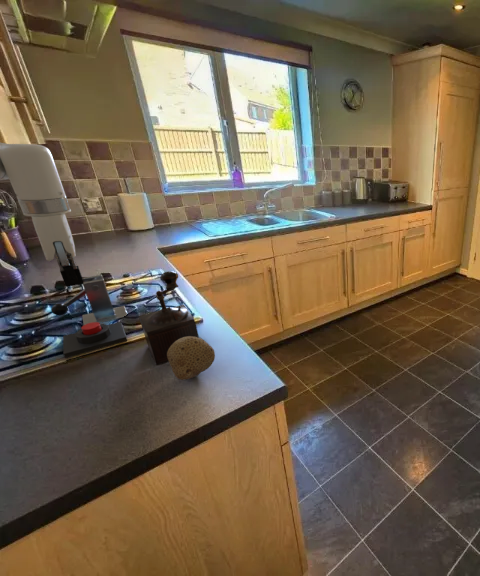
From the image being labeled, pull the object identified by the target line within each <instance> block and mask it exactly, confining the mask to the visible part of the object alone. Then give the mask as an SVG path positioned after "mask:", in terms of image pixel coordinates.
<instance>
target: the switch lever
mask: <svg viewBox="0 0 480 576" xmlns="http://www.w3.org/2000/svg"><path fill="white" fill-rule="evenodd" d="M94 280H98V279H97V278H94V279H92V280H91V281H94ZM85 295H87V294H86V291H85V288H84V289H82V290H81V291H80V292H78V293H77V294H75V295H73V296H72V297H70V298H69V299H68V300H66V301H64V303H56V304H53V305H52V307H50V311H51V313H52V314H53V315H55V316H64V315H66V314H67V313H68V310H69V307H70V306H71V305H72V304H74V303H75V302H77V301H78V300H80V299H81V298H82V297H84V296H85Z"/></svg>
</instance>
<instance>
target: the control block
mask: <svg viewBox="0 0 480 576" xmlns="http://www.w3.org/2000/svg"><path fill="white" fill-rule="evenodd" d="M100 326H101V328H102V330H101V331H100V332H97V333H95V334H91V335H84V334H83V331H82V328H80V329H79V330H78V331H76V332H74V333H70V334H69V333H68V334H65V335H63V336H62V345H63V346H62V347H63V357H64V358H65V361H66V362H69V361H73V360H76V359H79V358H84V357H88V356H90V355H94V354H97V353H101V352H104V351H108V350H112V349H115V348H118V347H122V346H125V345H129V342H128V338H127V336H126V333H125V329H124V326H123V323H122V321H118V322H114V323H109V324H105V323H100ZM124 342H125V343H124ZM120 343H122V344H120ZM110 346H111V347H110ZM92 351H93V352H92ZM85 353H86V354H85ZM82 354H83V355H82ZM71 357H72V358H71Z"/></svg>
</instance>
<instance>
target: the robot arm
mask: <svg viewBox="0 0 480 576" xmlns="http://www.w3.org/2000/svg"><path fill="white" fill-rule="evenodd" d="M5 180H9V182H10V184H11V186H12V189H13V192H14V194H15V197H16V199H17V202H18V204H19V207H20V209H21V211H22V214H23V216H25V217H31V220H32V224H33V227H34V230H35V233H36V235H37V238H38V241H39V243H40V247H41V249H42V252H43V255H44V258H45V260H46V262H49V263H50V262H51V263H52V260H53V261H54V260H56V263H57V265H58V267H59V273H60V275H61V277H62V280H63V283H64V286H65V287H74V286H79V285H83V278H84V277H83V276H82V273H81V270H80V268H79V265H77V262H76V260H75V258H76V256H77V254H76V246H75V241H74V237H73V235H72V230H71V228H70V225H69V221H68V219H67V216H66V214H70V213H71V212H72V209H71V207H70V203H69V201H68V198H67V195H66V191H65V189H64V186H63V183H62V181H61V178H60V174H59V172H58V169H57V165H56V163H55V160H54V158H53V154H52V152H51V150H50V149H49V148H48V147H46V146H44V145H41V144H35V143H33V144H32V143H6V142H0V181H5Z"/></svg>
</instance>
